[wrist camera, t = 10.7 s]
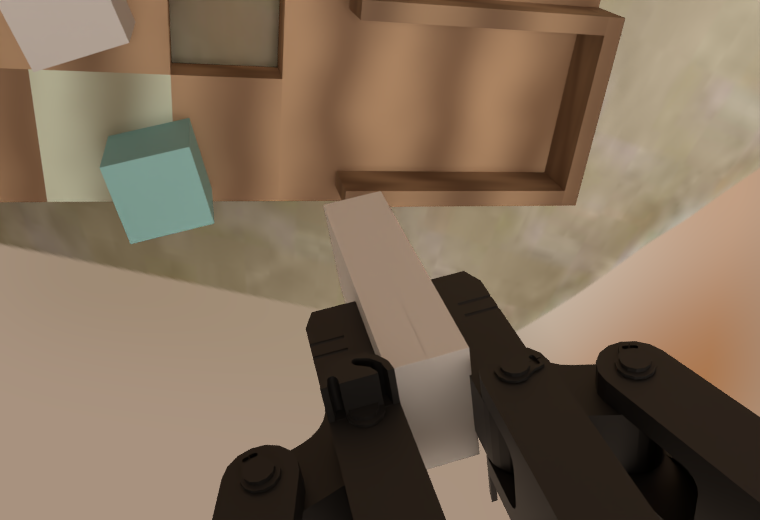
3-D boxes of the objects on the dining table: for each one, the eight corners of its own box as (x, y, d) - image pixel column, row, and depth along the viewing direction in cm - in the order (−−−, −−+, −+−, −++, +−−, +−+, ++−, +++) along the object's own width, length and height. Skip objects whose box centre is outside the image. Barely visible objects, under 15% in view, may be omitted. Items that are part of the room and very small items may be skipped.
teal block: (135, 207, 41) (130, 244, 37) (108, 136, 38) (99, 167, 34) (211, 189, 41) (214, 223, 37) (189, 117, 39) (189, 146, 35)
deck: (8, 183, 41) (-15, 226, 36) (-38, -80, 34) (-73, -69, 29) (535, 184, 49) (571, 219, 45) (584, -26, 42) (632, -11, 38)
